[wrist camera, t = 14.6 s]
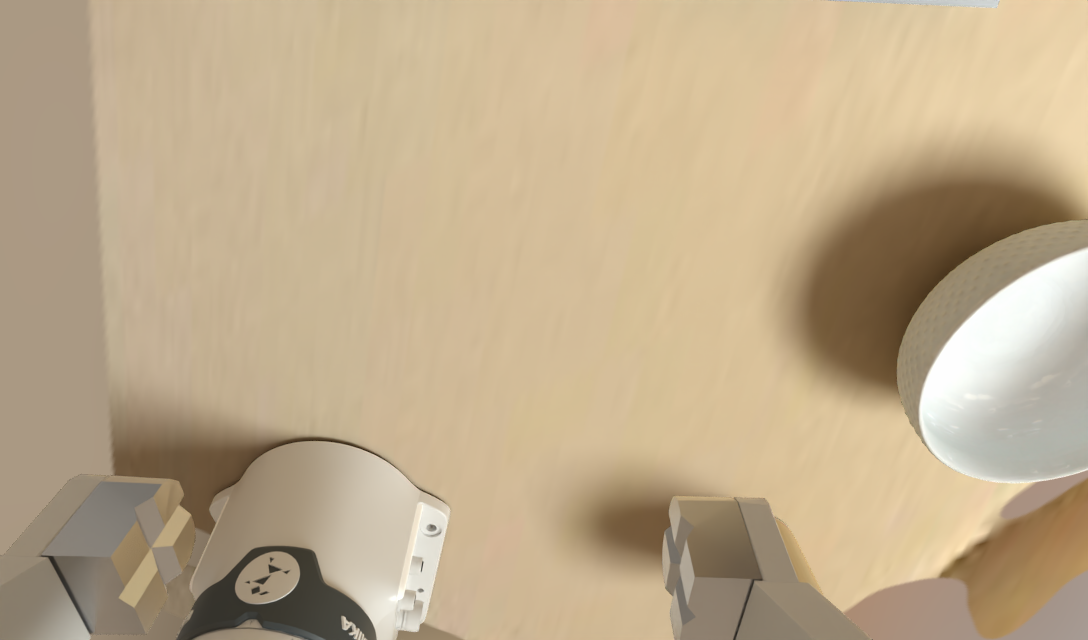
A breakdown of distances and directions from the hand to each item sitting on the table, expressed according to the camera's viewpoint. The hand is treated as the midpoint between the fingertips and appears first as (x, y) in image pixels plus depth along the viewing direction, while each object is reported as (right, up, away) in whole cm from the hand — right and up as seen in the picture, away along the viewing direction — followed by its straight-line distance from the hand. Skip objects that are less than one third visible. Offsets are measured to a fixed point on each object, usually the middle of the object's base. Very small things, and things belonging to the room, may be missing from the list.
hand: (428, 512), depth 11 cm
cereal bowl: (+32, +4, +32) cm, 45 cm away
